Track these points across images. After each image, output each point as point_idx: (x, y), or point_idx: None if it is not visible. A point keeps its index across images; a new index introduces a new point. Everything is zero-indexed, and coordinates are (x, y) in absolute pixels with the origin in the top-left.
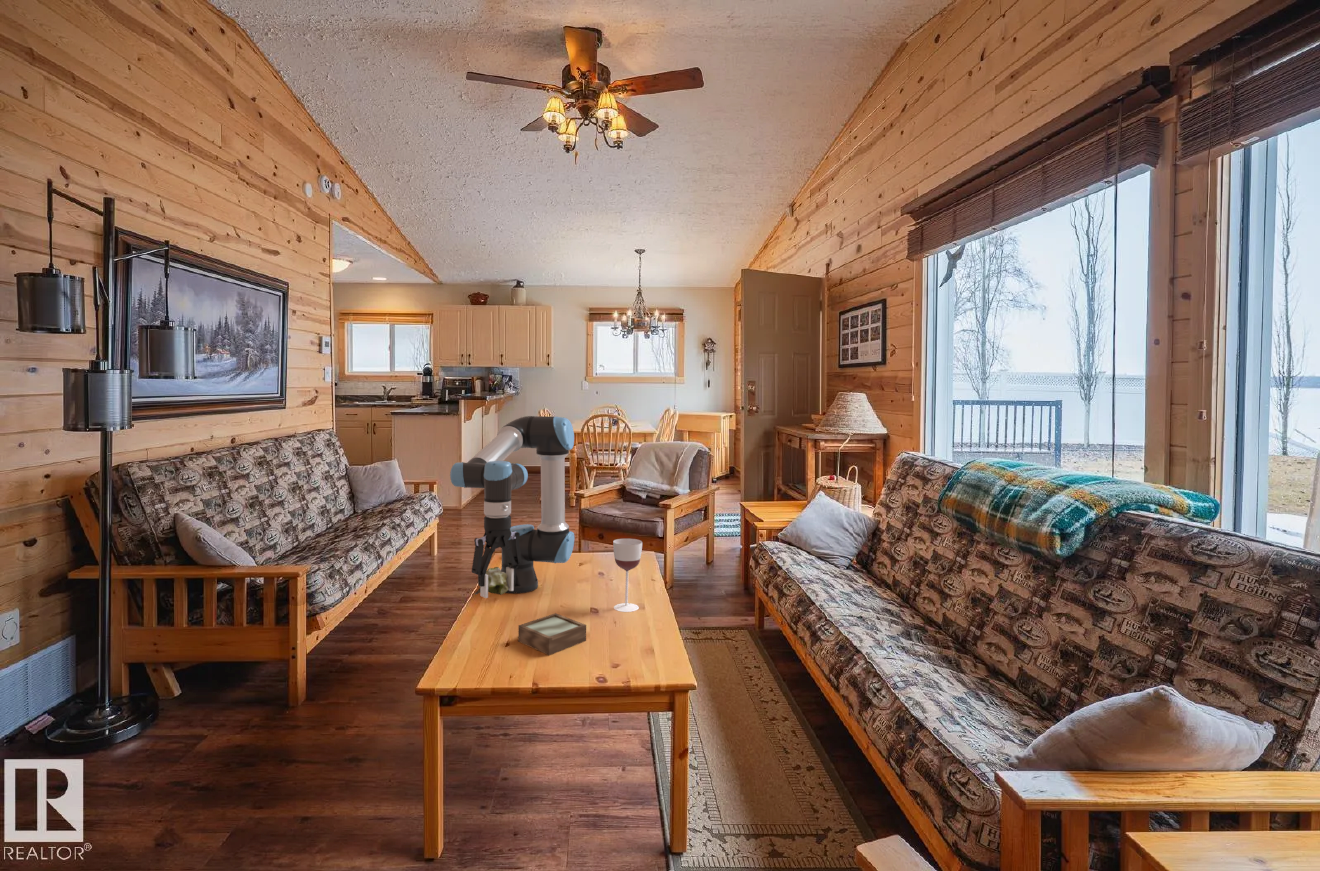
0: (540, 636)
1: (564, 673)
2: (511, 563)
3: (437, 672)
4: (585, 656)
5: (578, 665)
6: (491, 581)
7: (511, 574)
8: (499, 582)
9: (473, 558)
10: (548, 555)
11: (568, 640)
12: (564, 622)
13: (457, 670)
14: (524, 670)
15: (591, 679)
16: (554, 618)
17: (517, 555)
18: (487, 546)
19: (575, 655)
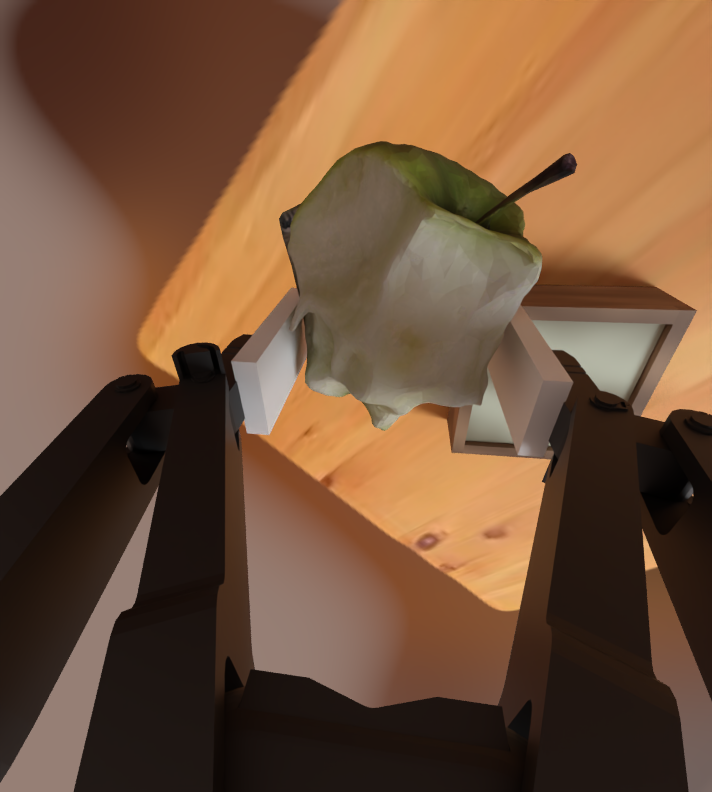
0: (456, 416)
1: (399, 492)
2: (545, 487)
3: (166, 291)
4: (497, 477)
5: (447, 491)
6: (330, 378)
7: (507, 423)
8: (372, 413)
9: (10, 485)
10: None
11: None
12: (614, 391)
13: (217, 320)
14: (347, 432)
15: (415, 532)
16: (641, 336)
17: (663, 578)
18: (154, 693)
19: (488, 461)
